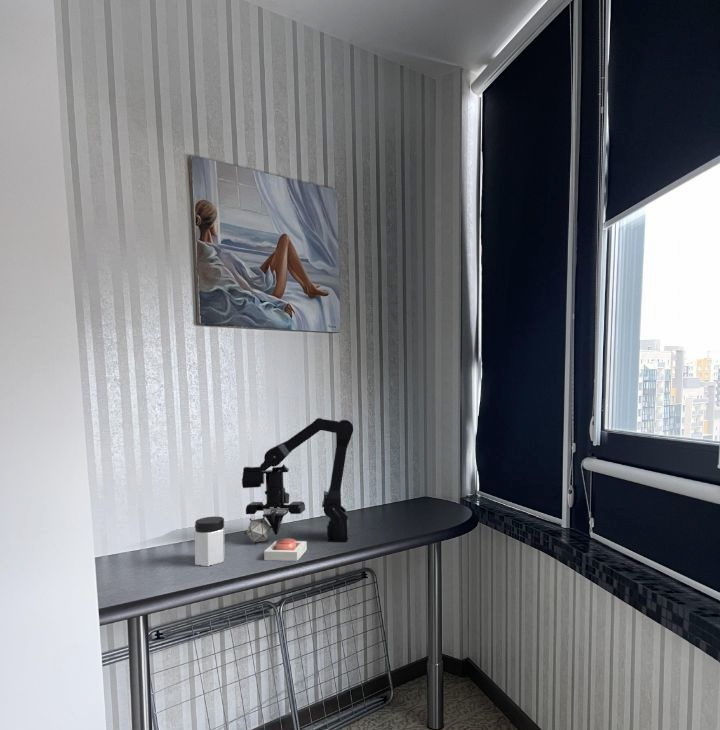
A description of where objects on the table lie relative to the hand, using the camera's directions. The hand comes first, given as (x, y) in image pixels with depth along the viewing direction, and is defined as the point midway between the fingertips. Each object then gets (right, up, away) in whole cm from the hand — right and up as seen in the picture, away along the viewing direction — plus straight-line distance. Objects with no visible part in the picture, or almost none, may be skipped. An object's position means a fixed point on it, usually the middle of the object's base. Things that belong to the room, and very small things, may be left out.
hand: (276, 534), depth 152 cm
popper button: (+5, -1, -12) cm, 13 cm away
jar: (-17, -2, -16) cm, 23 cm away
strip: (-19, -3, +2) cm, 20 cm away
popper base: (+5, -2, -12) cm, 13 cm away
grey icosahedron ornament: (-6, -3, +1) cm, 7 cm away
